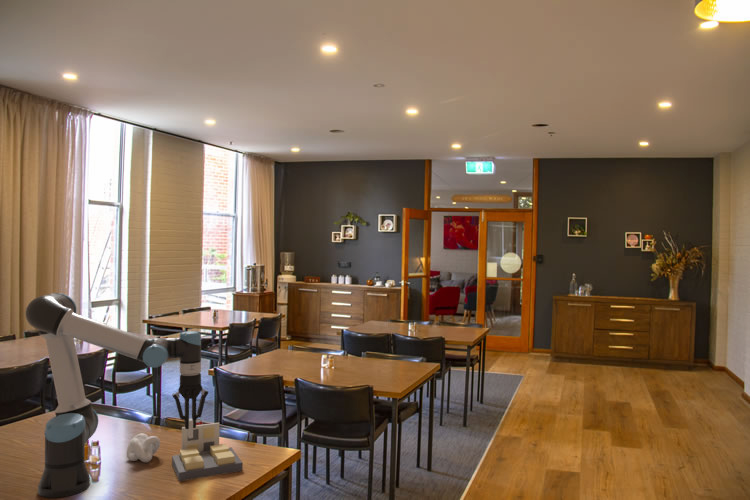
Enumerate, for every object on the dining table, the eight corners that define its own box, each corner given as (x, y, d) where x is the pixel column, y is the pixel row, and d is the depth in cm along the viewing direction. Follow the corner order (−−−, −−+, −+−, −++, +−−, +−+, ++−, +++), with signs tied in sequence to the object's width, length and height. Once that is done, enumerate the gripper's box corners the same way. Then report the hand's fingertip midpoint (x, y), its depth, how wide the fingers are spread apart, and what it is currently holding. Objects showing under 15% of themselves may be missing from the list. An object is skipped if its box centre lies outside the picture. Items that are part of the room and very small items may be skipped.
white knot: (117, 462, 212) (117, 438, 212) (140, 452, 223) (140, 429, 223) (141, 467, 208) (141, 442, 208) (163, 456, 219) (164, 433, 219)
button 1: (182, 463, 206) (182, 455, 206) (179, 458, 211) (179, 450, 211) (199, 461, 208) (199, 452, 208) (196, 455, 214) (196, 447, 214)
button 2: (185, 472, 198) (186, 463, 198) (183, 466, 203) (183, 458, 203) (203, 469, 200) (203, 460, 200) (200, 463, 206) (200, 455, 206)
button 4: (217, 467, 203) (218, 458, 203) (214, 461, 208) (214, 453, 208) (234, 464, 205) (234, 456, 205) (230, 459, 211) (231, 451, 211)
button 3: (212, 458, 211) (213, 450, 211) (209, 453, 216) (209, 445, 216) (229, 456, 213) (229, 448, 213) (225, 451, 219) (225, 443, 219)
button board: (179, 481, 195) (179, 446, 195) (170, 460, 215) (170, 428, 215) (242, 470, 205) (242, 437, 205) (228, 451, 225) (229, 421, 225)
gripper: (173, 377, 204) (173, 442, 203) (210, 373, 209) (210, 437, 209) (170, 373, 210) (170, 436, 210) (206, 370, 216) (206, 431, 216)
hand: (190, 437), depth 210 cm, fingers closed
